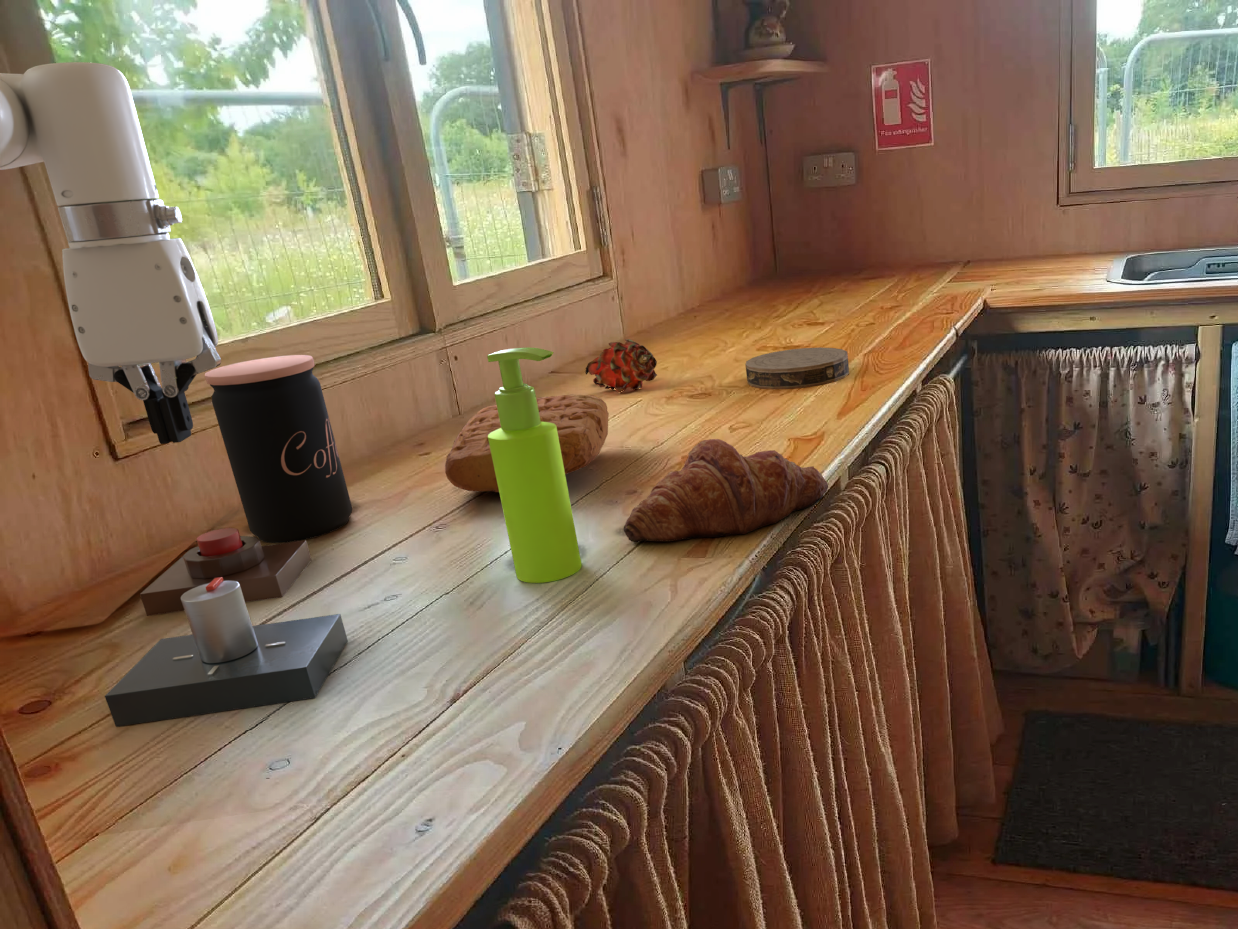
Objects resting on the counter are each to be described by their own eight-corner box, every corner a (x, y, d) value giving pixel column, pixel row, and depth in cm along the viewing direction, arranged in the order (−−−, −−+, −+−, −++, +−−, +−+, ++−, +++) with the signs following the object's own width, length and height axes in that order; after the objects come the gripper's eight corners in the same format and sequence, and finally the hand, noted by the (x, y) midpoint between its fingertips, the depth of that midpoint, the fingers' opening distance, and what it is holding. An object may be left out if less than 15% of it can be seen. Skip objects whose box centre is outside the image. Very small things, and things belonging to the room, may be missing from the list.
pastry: (700, 490, 117) (690, 417, 114) (834, 493, 111) (827, 417, 108) (622, 545, 103) (609, 464, 100) (771, 552, 97) (761, 466, 94)
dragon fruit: (666, 398, 172) (597, 413, 175) (669, 358, 176) (602, 374, 180) (643, 362, 165) (572, 378, 168) (648, 322, 169) (579, 338, 173)
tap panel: (115, 726, 78) (103, 693, 77) (170, 666, 87) (160, 636, 86) (315, 697, 79) (305, 665, 78) (348, 641, 88) (340, 611, 87)
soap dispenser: (570, 585, 95) (528, 355, 88) (504, 581, 97) (456, 358, 90) (603, 560, 100) (565, 341, 93) (538, 558, 102) (496, 344, 95)
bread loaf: (493, 458, 141) (480, 397, 138) (623, 445, 140) (614, 383, 137) (440, 511, 120) (425, 441, 117) (593, 497, 119) (581, 426, 116)
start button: (196, 561, 101) (190, 543, 100) (209, 548, 104) (204, 530, 103) (235, 555, 101) (230, 537, 100) (248, 542, 104) (243, 525, 104)
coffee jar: (309, 546, 113) (262, 374, 107) (230, 544, 117) (179, 378, 110) (375, 512, 122) (335, 352, 116) (299, 511, 126) (256, 356, 119)
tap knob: (247, 659, 80) (226, 593, 78) (192, 666, 80) (169, 600, 78) (265, 637, 84) (246, 573, 82) (212, 644, 84) (191, 580, 82)
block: (147, 616, 99) (133, 575, 97) (188, 577, 108) (176, 539, 106) (282, 597, 100) (270, 556, 98) (312, 560, 109) (301, 522, 107)
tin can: (726, 384, 170) (724, 365, 169) (799, 363, 179) (797, 345, 178) (796, 392, 158) (795, 372, 157) (870, 370, 168) (869, 350, 167)
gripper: (223, 217, 95) (274, 422, 102) (44, 232, 94) (108, 439, 101) (191, 220, 88) (248, 440, 95) (-2, 237, 87) (69, 459, 94)
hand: (176, 439), depth 98 cm, fingers closed
